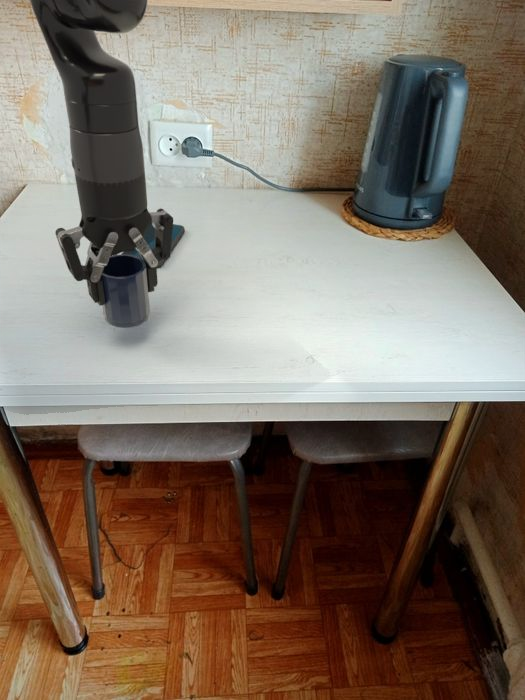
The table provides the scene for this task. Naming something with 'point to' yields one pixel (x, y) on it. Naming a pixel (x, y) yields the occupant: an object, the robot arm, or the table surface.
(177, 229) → the smartphone
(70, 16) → the robot arm
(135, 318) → the pot
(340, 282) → the table surface
